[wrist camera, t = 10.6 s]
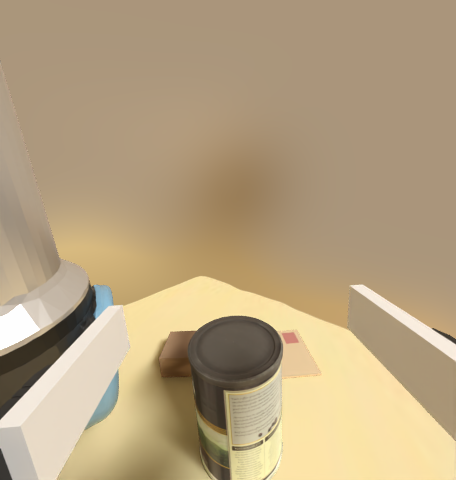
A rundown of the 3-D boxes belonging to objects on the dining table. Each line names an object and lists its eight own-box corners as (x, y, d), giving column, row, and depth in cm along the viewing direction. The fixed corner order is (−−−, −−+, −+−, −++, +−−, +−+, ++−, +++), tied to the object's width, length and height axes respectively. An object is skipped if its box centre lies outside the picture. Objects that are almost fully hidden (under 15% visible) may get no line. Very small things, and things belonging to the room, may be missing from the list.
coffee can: (185, 480, 24) (169, 372, 21) (214, 395, 34) (206, 312, 30) (283, 509, 21) (282, 390, 18) (283, 408, 31) (283, 318, 28)
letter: (223, 384, 36) (223, 382, 35) (221, 337, 47) (221, 336, 47) (321, 375, 36) (321, 373, 36) (296, 330, 47) (296, 329, 47)
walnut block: (162, 378, 38) (158, 358, 37) (173, 349, 45) (170, 331, 44) (202, 377, 37) (200, 357, 37) (207, 348, 44) (206, 330, 43)
